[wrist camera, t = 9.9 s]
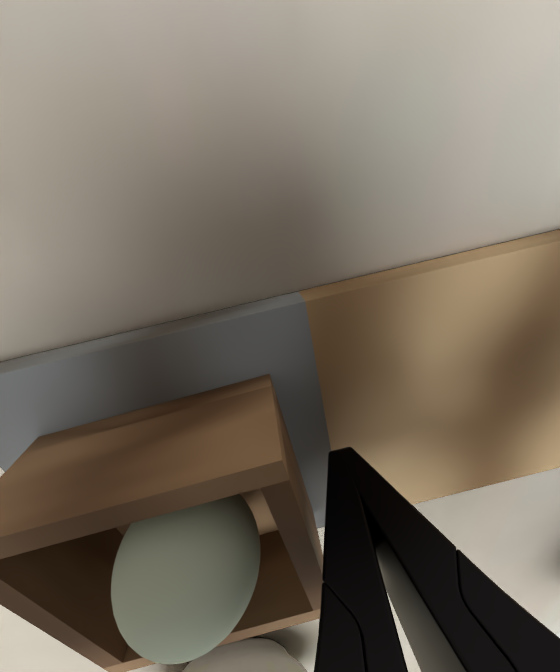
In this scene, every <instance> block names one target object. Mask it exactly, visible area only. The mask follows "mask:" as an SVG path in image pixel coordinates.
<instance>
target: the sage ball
mask: <svg viewBox="0 0 560 672" xmlns="http://www.w3.org/2000/svg"><path fill="white" fill-rule="evenodd" d="M260 554H261V553H260V537H259V532H258V528H257V523H256V520H255V518H254V515H253V513H252V511H251V509H250V507H249V505H248V504H247V502H246V501H245V499H244V498H243V497H242V496H241V495H240V494H236V495H233V496H229V497H225V498H222V499H218V500H215V501H211V502H207V503H204V504H200V505H196V506H193V507H189V508H185V509H182V510H178V511H174V512H171V513H167V514H163V515H160V516H156V517H152V518H149V519H145V520H141V521H138V522H134V523H131V524H130V526H129V528H128V530H127V531H126V533H125V535H124V537H123V539H122V541H121V544H120V547H119V549H118V552H117V555H116V559H115V563H114V567H113V572H112V580H111V601H112V608H113V615H114V618H115V620H116V623H117V626H118V629H119V631H120V633H121V635H122V636H123V638H124V639H125V641H126V642H127V644H128V645H129V646H130V647H131V648H132V649H133V650H134V651H135V652H136V653H138V654H139V655H140V656H141V657H143V658H146V659H148V660H150V661H152V662H155V663H160V664H169V665H172V664H180V663H185V662H189V661H192V660H194V659H196V658H198V657H200V656H202V655H204V654H206V653H208V652H209V651H211V650H212V649H213V648H215V647H216V646H217V645H218V644H219V643H221V642H222V641H223V640H224V639H225V638H226V637H227V636H228V635H229V634H230V632H231V631H232V630H233V629H234V627H235V626H236V625H237V623H238V622H239V620H240V619H241V617H242V615H243V614H244V612H245V610H246V608H247V606H248V604H249V602H250V599H251V597H252V595H253V592H254V589H255V586H256V582H257V578H258V573H259V566H260Z"/></svg>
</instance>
